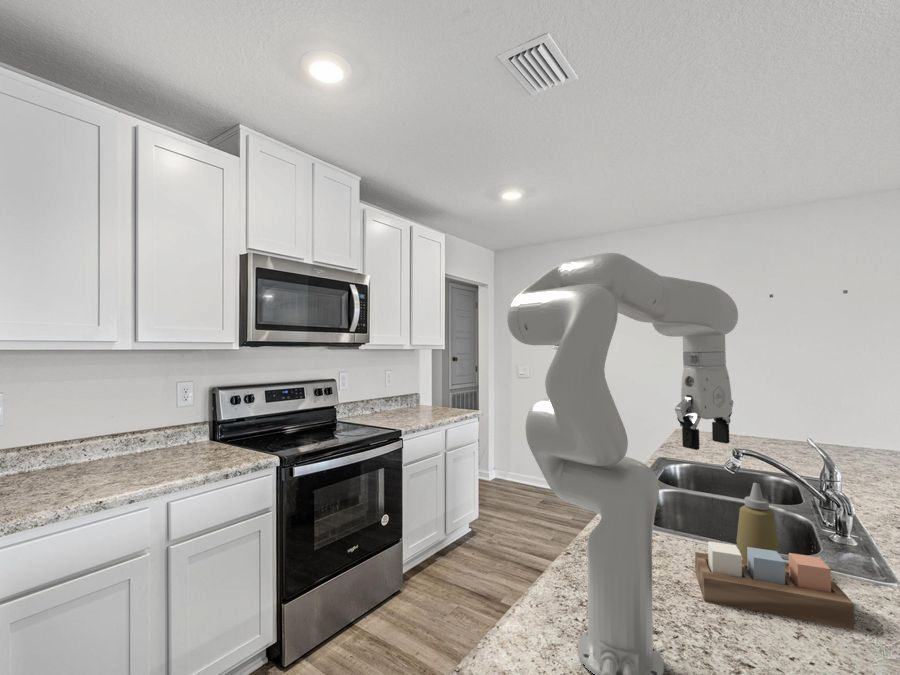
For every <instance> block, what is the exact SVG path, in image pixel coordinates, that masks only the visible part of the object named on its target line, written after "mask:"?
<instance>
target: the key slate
mask: <svg viewBox="0 0 900 675" xmlns="http://www.w3.org/2000/svg"><path fill="white" fill-rule="evenodd" d="M785 566H786V562H785V560H784V559H783V558H782V556H781V555H780V553H778V552H777V551H772V550H765V549H758V548H751V547H747V568H748V573H749V575H750V577H751V579H755V580H761V581H767V582H772V583H778V584H784V585H785Z"/></svg>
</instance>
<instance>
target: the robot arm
mask: <svg viewBox="0 0 900 675" xmlns="http://www.w3.org/2000/svg"><path fill="white" fill-rule="evenodd" d="M618 314H621V315H623V316H625V317H626V318H630V319H631V320H635V321H636V322H637V321H638V322H640V323H649V324H652V326H653V328H654V330H655V331H656V332H657V333H659V334H660V335H662V336H666V337H676V338H679V337H681V338H682V360H683V363H682V364H683V365H682V367H683V371H682V375H681V376H682V377H681V386H680V387H681V389H680V392H681V394H680V397H681V398H680V402H679V403H678V404H677V405H676V406H675V407H674V411H675V414H676V416H677V421H678V422H679V426H680V428H681V432H682V433H681V435H682V439H681V441H682V446H683V448H687V449H691V450H695V451H699V450H700V429H699V428H697V427H698V426H699V423H700V421H701V419H703V420H713V421H712V422H711V429H712V430H711V431H712V432H711V434H712V435H711V437H712V441H713V442H716V443H721V444H726V445H727V444H729V443H730V423H731V416H732V414H733V406H734V400H733V398H732V388H731V381H730V376H729V371H728V369H727V360H726V359H727V358H726V356H727V355H726V350H727V349H726V335H728V334H730V333H731V332H732V331H733V330H734V329H735V328H736V326H737V324H738V319H739V311H738V308H737V304H736V302H735V301H734V300H733V298H732V297H731V295H729V294H728V293H727V292H726V291H724V290H722V289H721V288H720V287H718V286H716V285H713V284H711V283H710V284H709V283H706V282H702V281H695V280H689V279H683V278H677V277H673V276H664V275H660V274H658V273H656V272H654V271H653V270H652V269H649V268H647V267H646V266H644V265H642V264H641V263H639V262H637V261H635V260H634V259H631V258H630V257H628V256H626V255H625V254H621V253H617V252H605V253H599V254H594V255H592V254H591V255H588V256H584V257H578V258H573V259H568V260H565V261H563V262H560V263H559V264H557V265H555V266H554V267H552V268H551V269H549V270H547V272H545V273H544V274H542V275H541V276H540V277H539V278H537V279H536V280H535V281H534V282H531V284H529V285H528V286H527V287H526V288H524V289H523V290H522V291H520V293H518V294H517V296H515V297H514V299H513V300H512V302H511V303H510V305H509V307H508V311H507V327H508V329H509V332H510V333H511V335H512V336H513V338H514V339H515V340H516V341H518V342H520V343H522V344H525V345H528V346H558V347H557V350H556V352H555V354H554V357H553V358H552V361H551V363H550V366H549V367H548V370H547V373H546V376H545V381H544V383H545V384H544V387H545V391H546V392H545V393H546V395H547V397H545V398H543V399H540V400H538V401H536V402H535V403H534V404H533V405H532V406H531V407H530V409H529V411H528V413H527V415H526V419H525V437H526V441H527V445H528V447H529V449H530V452H531V454H532V455H533V457H534V459H535V462H536V464H537V465H538V467H539V469H540V471H541V473H542V475H543V477H544V479H545V481H546V482H547V484H548V486H549V488H550V490H551V491H552V493H554V494H555V496H556V497H557V498H558V499H560V500H562V501H564V502H567V503H568V504H572V505H574V506H577V507H580V508H583V509H586V510H589V511H591V512H594V513H596V514H598V515H599V516H600V520H599V522H598V524H597V525H595V527H594V528H593V529H592V531H590V533H589V536H588V539H587V546H586V548H587V552H586V553H587V631H586V632H584V633H583V634H582V635H580V637H579V639H578V641H577V655H578V659H579V660H580V663H581V664H582V665H583V664H584V665H585V666H584V665H583V666H584V668H585V669H586V668H587V669H588V670H589V671H588V670H587V669H586V670H587V671H588V672H590V671H591V672H592V673H593V674H595V675H663V674H664V675H665V662H664V658H663V657H662V655H661V654H660V652H659V651H658V650H657V648H656V647H655V646H654V644H653V643H654V642H653V641H654V640H653V639H654V638H653V636H654V635H653V633H654V632H653V630H654V629H653V622H654V621H653V537H654V536H653V534H654V532H653V531H654V523H655V517H656V511H657V505H658V500H659V495H660V493H659V492H660V484H659V480H658V477H657V476H656V473H655V472H654V470H652V468H651V467H649V466H648V465H647V464H646V463H644V462H641V460H640V461H639V460H637V459H635V458H631V457H628V456H626V454H627V452H628V445H629V440H628V435H627V432H626V428H625V425H624V422H623V421H622V418H621V414H620V413H619V411H618V408H617V405H616V404H615V401H614V398H613V395H612V394H611V390H610V388H609V385H608V383H607V380H606V372H605V370H606V368H605V366H606V363H607V362H606V361H607V356H608V352H609V349H610V346H611V342H612V339H613V336H614V333H615V330H616V326H617V324H618V323H617V322H618ZM691 419H692V420H691ZM591 672H590V673H591ZM592 673H591V674H592ZM593 674H592V675H593Z"/></svg>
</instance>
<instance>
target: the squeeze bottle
mask: <svg viewBox="0 0 900 675" xmlns="http://www.w3.org/2000/svg"><path fill="white" fill-rule="evenodd" d="M769 508H770V503H769V500H768V499H766V498H764V496H763V493H762V488H761V484H760V483H757V482H753V483H752V487H751V491H750V494H749V496H745V497H744V505H742V506H740V507H739V513H738V514H739V515H738V522H737V523H738V524H737V532H736V533H737V534H736V540H735V541H736V544H737V545H736V546H737V548H738V550H739V552H740V554H741V555H742V559H745V560H747V547H751V548H758V549H765V550H772V551H777V552H778V554H780V553H779V552H780V550H779V542H778V541H779V540H778V536H777V535H778V534H777V526H776V520H775V519H776V518H775V514H774V511H772V510H770V509H769Z"/></svg>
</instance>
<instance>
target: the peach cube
mask: <svg viewBox="0 0 900 675" xmlns="http://www.w3.org/2000/svg"><path fill="white" fill-rule="evenodd" d="M788 566H789V578H790V579H791V581H792V582H793V583H794V585H795V586H796V587H802V588H808V589H814V590H820V591H826V592H831V579H832V569H831V567H829V565H828V564H826V562H825V561H824V560H823V559H822V558H821V557H820V556H812V555H806V554H799V553H791V552H789V553H788Z"/></svg>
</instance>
